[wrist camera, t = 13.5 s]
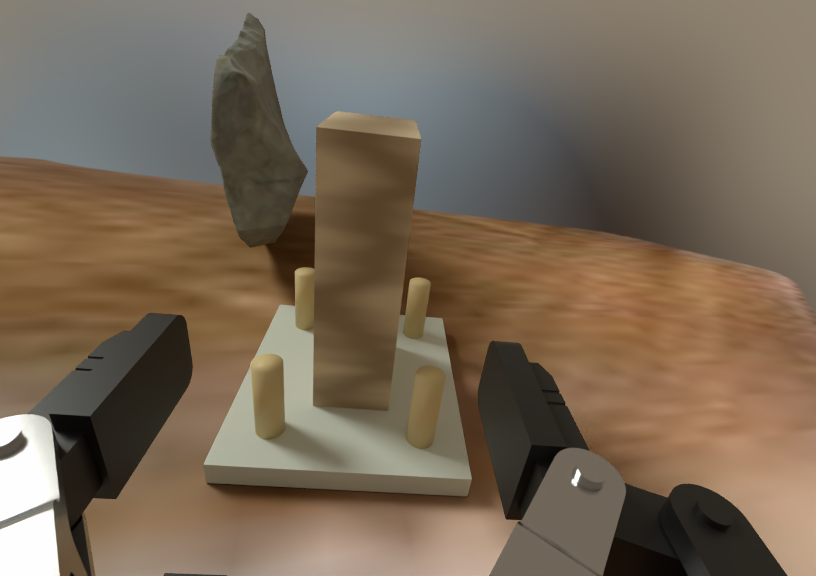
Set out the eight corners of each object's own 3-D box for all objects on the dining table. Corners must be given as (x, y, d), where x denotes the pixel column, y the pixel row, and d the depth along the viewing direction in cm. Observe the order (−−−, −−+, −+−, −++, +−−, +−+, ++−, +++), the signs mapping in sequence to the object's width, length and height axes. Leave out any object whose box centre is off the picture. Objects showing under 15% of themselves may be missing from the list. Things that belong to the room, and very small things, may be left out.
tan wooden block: (312, 405, 23) (316, 126, 16) (328, 340, 28) (336, 111, 21) (388, 411, 23) (421, 139, 16) (389, 345, 28) (415, 120, 22)
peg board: (206, 483, 19) (192, 394, 17) (280, 318, 32) (278, 254, 29) (467, 496, 20) (489, 414, 18) (439, 331, 33) (450, 270, 30)
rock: (311, 306, 34) (314, 6, 24) (225, 311, 32) (193, -14, 22) (285, 203, 56) (281, 24, 46) (233, 202, 54) (219, 15, 44)
